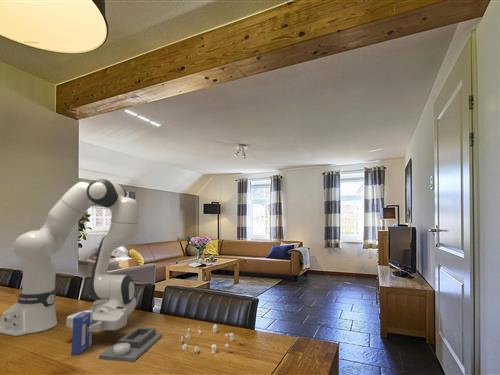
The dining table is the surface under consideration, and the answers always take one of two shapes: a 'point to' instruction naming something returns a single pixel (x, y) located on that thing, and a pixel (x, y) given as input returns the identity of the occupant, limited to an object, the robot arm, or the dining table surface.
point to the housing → (132, 345)
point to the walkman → (81, 332)
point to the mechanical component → (98, 304)
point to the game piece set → (211, 346)
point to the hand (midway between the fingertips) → (80, 328)
